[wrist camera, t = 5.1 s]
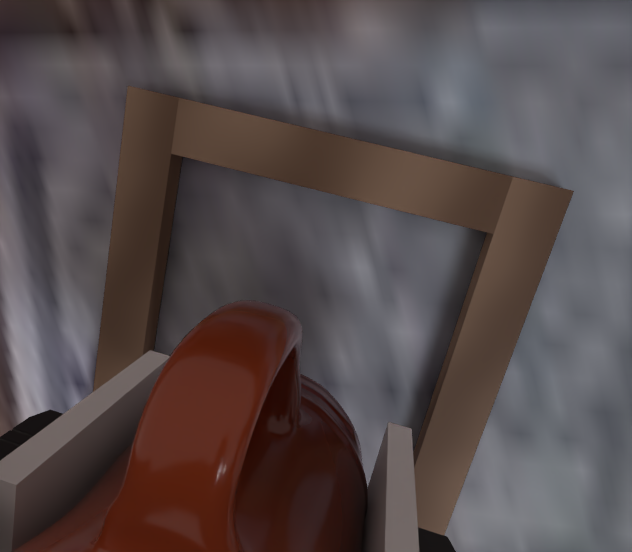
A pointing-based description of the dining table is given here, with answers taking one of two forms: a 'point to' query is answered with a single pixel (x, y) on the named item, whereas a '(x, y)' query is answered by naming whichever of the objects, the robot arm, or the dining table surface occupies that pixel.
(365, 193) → the frame
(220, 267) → the dining table surface
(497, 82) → the dining table surface
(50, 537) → the mug
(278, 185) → the dining table surface
